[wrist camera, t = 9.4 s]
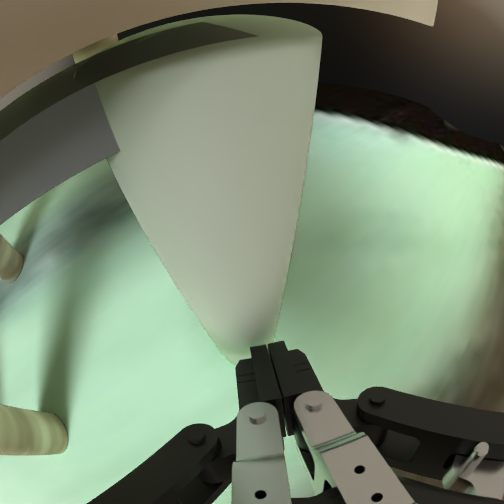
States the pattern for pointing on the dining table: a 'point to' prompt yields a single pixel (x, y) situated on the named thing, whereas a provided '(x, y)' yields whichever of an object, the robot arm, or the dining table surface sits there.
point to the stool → (82, 47)
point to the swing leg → (187, 154)
